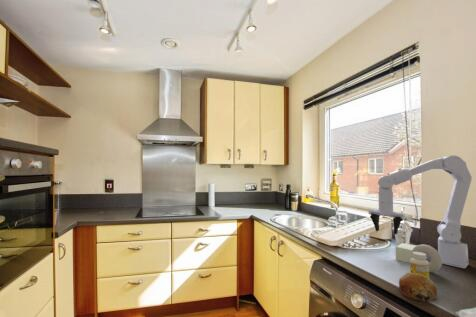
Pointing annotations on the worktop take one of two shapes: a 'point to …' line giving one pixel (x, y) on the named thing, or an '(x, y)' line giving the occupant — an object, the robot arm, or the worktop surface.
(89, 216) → the worktop surface
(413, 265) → the supplement bottle
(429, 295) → the bread roll
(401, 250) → the cream white block
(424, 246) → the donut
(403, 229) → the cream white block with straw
